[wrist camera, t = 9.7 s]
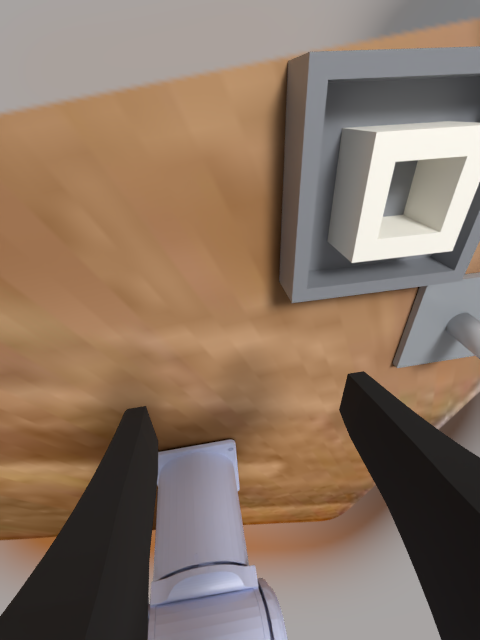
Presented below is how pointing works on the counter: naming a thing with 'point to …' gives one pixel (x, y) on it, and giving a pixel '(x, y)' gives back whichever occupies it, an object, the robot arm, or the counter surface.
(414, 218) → the ring
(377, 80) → the tray
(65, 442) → the counter surface
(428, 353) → the grey plate with post
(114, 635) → the robot arm
